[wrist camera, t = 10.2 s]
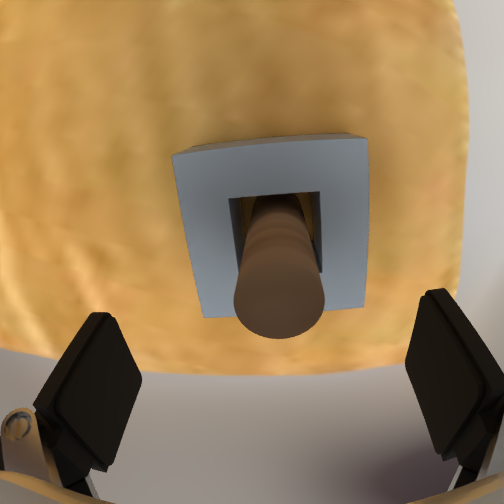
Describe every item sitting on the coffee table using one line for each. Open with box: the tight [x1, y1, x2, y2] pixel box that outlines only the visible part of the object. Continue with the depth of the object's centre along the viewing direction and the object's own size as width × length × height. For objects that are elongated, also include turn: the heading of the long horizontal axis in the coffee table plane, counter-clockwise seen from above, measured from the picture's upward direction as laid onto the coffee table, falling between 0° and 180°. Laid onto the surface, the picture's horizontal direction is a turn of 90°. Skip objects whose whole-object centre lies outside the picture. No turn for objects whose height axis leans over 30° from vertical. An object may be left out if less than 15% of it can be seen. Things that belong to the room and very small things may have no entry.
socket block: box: [172, 133, 369, 318], centre depth 21 cm, size 11×11×5 cm
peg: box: [233, 193, 325, 339], centre depth 18 cm, size 4×4×12 cm
